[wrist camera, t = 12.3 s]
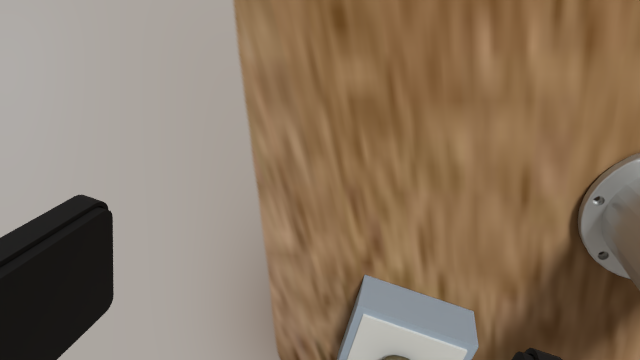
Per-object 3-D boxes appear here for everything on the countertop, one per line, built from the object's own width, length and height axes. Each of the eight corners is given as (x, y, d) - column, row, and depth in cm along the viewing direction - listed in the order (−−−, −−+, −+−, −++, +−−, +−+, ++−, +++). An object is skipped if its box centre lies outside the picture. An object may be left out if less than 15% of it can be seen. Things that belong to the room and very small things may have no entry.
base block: (473, 311, 44) (478, 349, 39) (435, 384, 49) (435, 426, 44) (364, 274, 45) (357, 307, 40) (339, 350, 50) (329, 386, 46)
